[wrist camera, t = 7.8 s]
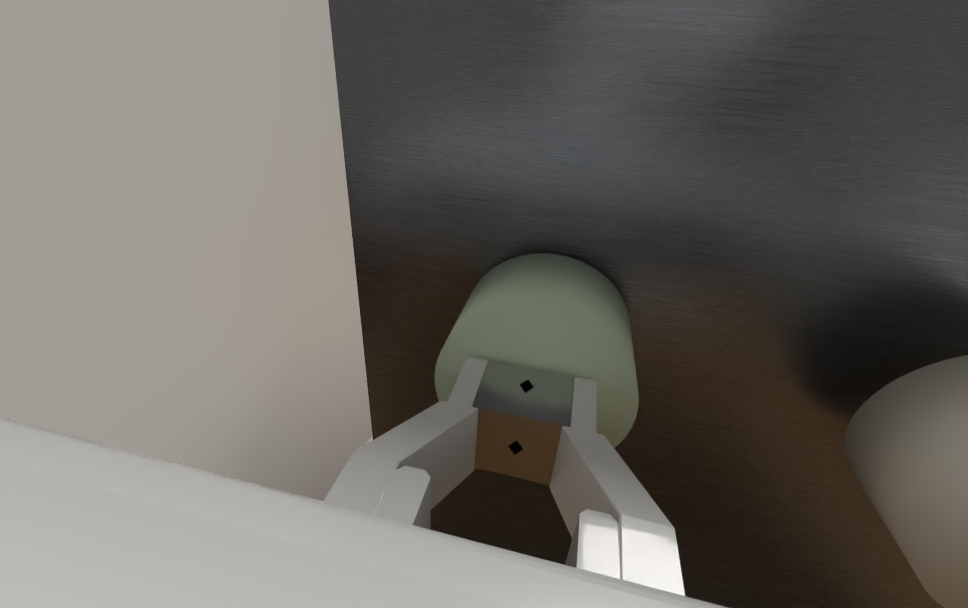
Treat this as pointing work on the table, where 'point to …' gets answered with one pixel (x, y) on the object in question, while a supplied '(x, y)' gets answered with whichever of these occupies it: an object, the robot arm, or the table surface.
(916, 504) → the cream button
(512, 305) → the sage button
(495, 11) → the button panel
